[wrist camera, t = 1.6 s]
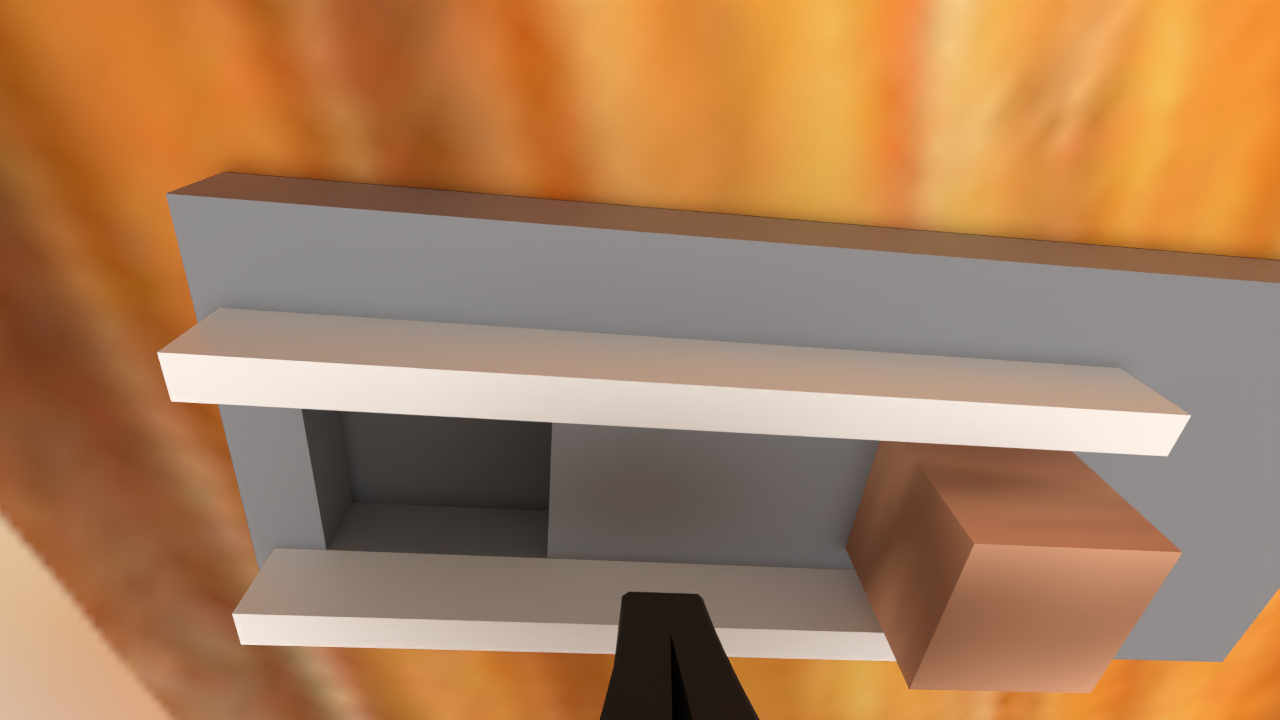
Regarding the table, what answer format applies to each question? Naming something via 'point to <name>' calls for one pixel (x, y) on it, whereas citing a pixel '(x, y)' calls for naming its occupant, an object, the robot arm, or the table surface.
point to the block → (1002, 566)
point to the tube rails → (633, 397)
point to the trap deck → (733, 312)
